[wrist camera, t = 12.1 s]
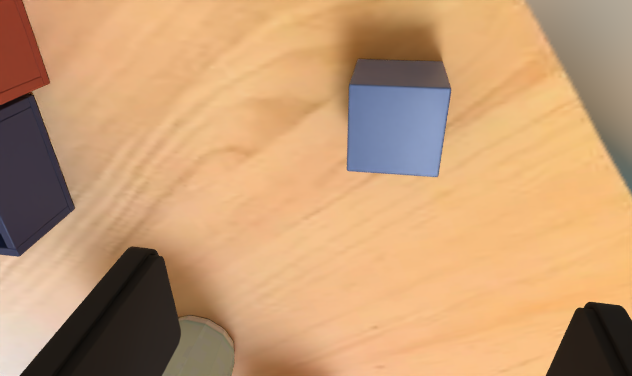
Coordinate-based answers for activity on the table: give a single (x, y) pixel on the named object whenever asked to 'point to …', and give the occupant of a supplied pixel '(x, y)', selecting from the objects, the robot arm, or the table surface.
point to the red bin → (18, 53)
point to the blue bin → (28, 178)
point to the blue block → (397, 116)
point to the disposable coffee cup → (201, 350)
